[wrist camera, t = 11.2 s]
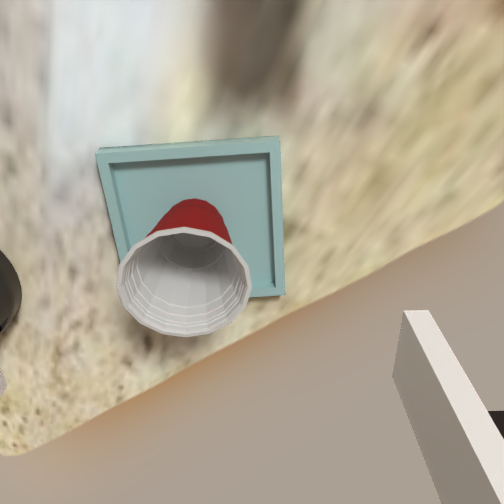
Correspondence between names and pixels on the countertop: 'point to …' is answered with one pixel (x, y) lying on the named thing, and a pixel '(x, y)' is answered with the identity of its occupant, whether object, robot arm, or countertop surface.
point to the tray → (203, 195)
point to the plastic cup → (185, 273)
